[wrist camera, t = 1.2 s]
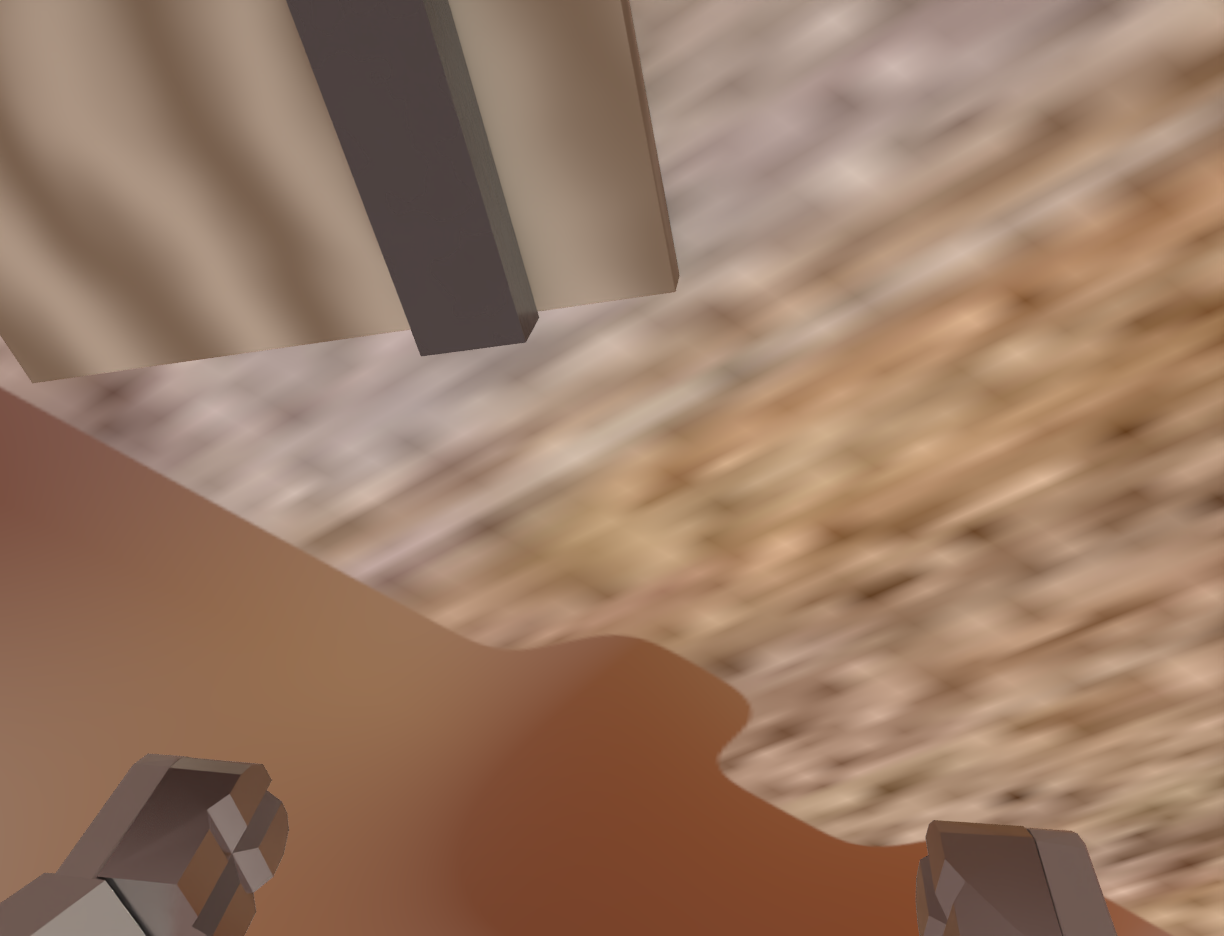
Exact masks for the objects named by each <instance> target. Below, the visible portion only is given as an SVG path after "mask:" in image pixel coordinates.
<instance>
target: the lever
mask: <svg viewBox="0 0 1224 936" xmlns="http://www.w3.org/2000/svg"><path fill="white" fill-rule="evenodd" d="M286 2H287V4H288V7H289V10H290V12H291V15H292V18H293V20H294V23H295V26H296V28H297V31H298V33H299V36H300V39H301V41H302V44H303V47H304V49H305V52H306V55H307V57H308V60H309V62H310V65H311V68H312V70H313V73H314V76H315V78H316V81H317V84H318V86H319V89H320V91H321V94H322V97H323V99H324V102H325V105H326V107H327V110H328V113H329V115H330V118H331V120H332V123H333V126H334V128H335V131H336V134H337V136H338V139H339V141H340V144H341V147H342V149H343V152H344V155H345V157H346V160H347V163H348V165H349V168H350V170H351V173H352V176H353V178H354V181H355V184H356V186H357V189H358V192H359V194H360V197H361V199H362V202H363V205H364V207H365V210H366V213H367V215H368V218H369V221H370V223H371V226H372V228H373V231H374V234H375V236H376V239H377V242H378V244H379V247H380V249H381V252H382V255H383V257H384V260H385V263H386V265H387V268H388V271H389V273H390V276H391V278H392V281H393V284H394V286H395V289H396V292H397V294H398V297H399V300H400V302H401V305H402V307H403V310H404V313H405V315H406V318H407V321H408V323H409V326H410V329H411V331H412V334H413V336H414V339H415V342H416V344H417V347H418V350H419V352H420V355H421V356H427V355H435V354H442V353H450V352H457V351H465V350H472V349H480V348H487V347H495V346H502V345H510V344H517V343H525V342H526V341H527V339H528V337H529V335H530V334H531V332H532V330H533V328H534V326H535V324H536V322H537V321H538V319H539V315H538V312H537V308H536V305H535V302H534V298H533V295H532V291H531V288H530V284H529V281H528V277H527V274H526V270H525V267H524V263H523V260H522V256H521V253H520V249H519V246H518V242H517V239H516V235H515V232H514V228H513V225H512V221H511V218H510V214H509V211H508V207H507V204H506V200H505V197H504V193H503V190H502V187H501V183H500V180H499V176H498V173H497V169H496V166H495V162H494V159H493V155H492V152H491V148H490V145H489V141H488V138H487V134H486V131H485V127H484V124H483V120H482V117H481V113H480V110H479V106H478V103H477V99H476V96H475V92H474V89H473V85H472V82H471V78H470V75H469V71H468V68H467V65H466V61H465V58H464V54H463V51H462V47H461V44H460V40H459V37H458V33H457V30H456V26H455V23H454V19H453V16H452V12H451V9H450V5H449V2H448V0H286Z"/></svg>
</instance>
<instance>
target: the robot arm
mask: <svg viewBox="0 0 1224 936" xmlns="http://www.w3.org/2000/svg"><path fill="white" fill-rule="evenodd" d="M271 781H272V779H271V778H270V776H269V774H268V772H267V770H266V769H265V767H264V765H263V764H254V763H242V762H232V761H221V760H209V759H198V758H190V757H184V756H171V755H159V754H147V755H146V756H144V757H143V758H141V759H140V760H139V761H137V762H136V763H135V764H134V765H133V766H132V767H131V768H130V770H129V771H128V773H127V774H126V775H125V777H124V778H123V780H122V781H121V782H120V784H119V785H118V787H117V788H116V789H115V791H114V792H113V794H112V795H111V796H110V798H109V799H108V801H107V802H106V803H105V805H104V806H103V808H102V809H101V810H100V812H99V813H98V815H97V816H96V817H95V819H94V820H93V822H92V823H91V824H90V826H89V827H88V829H87V830H86V832H85V833H84V834H83V836H82V837H81V838H80V840H79V841H78V843H77V844H76V845H75V847H74V848H73V850H72V851H71V852H70V854H69V855H68V857H67V858H66V859H65V861H64V862H63V864H62V865H61V866H60V868H59V869H58V871H57V872H56V873H55V874H53V873H44V874H42V875H41V876H39V877H38V878H36V879H35V880H34V881H32V882H31V883H29V884H28V885H26V886H25V887H24V888H22V889H20V890H19V891H18V892H16V893H15V894H13V895H12V896H10V897H9V898H7V899H6V900H4V901H3V902H1V903H0V936H244V935H245V933H246V931H247V929H248V927H249V925H250V923H251V921H252V919H253V917H254V915H255V913H256V907H255V901H254V894H253V893H254V892H255V891H256V890H257V889H259V888H260V887H261V886H262V885H264V884H265V883H266V882H267V881H268V880H270V879H271V878H272V877H273V876H274V874H275V871H276V869H277V867H278V865H279V863H280V861H281V859H282V857H283V854H284V850H285V846H286V840H287V836H288V831H289V827H288V816H287V812H286V810H285V807H284V805H283V803H282V801H280V800H279V799H278V798H276V797H275V796H274V795H272V794H271V793H270V792H268V791H267V788H268V787H269V785H270V783H271ZM926 843H927V849H928V856H926V857H924V858H923V859H921V860H920V863H919V868H918V873H917V878H916V909H917V919H918V920H917V921H918V928H919V935H920V936H1117V933H1116V931H1115V928H1114V925H1113V922H1112V920H1111V916H1110V913H1109V911H1108V908H1107V905H1106V902H1105V899H1104V896H1103V893H1102V890H1101V888H1100V885H1099V882H1098V879H1097V876H1096V873H1095V870H1094V868H1093V865H1092V862H1091V859H1090V856H1089V853H1088V850H1087V848H1086V845H1085V843H1084V842H1083V840H1082V839H1081V838H1080V836H1079V835H1078V834H1077V833H1075V832H1073V831H1066V830H1052V829H1038V828H1025V827H1024V826H1013V825H998V824H983V823H968V822H953V821H938V820H933V821H932V822H931V823H930V824H929V826H928V830H927V834H926Z"/></svg>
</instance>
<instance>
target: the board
mask: <svg viewBox="0 0 1224 936" xmlns="http://www.w3.org/2000/svg"><path fill="white" fill-rule="evenodd" d="M448 2H449V5H450V9H451V12H452V16H453V19H454V23H455V26H456V30H457V33H458V37H459V40H460V44H461V47H462V51H463V54H464V58H465V61H466V65H467V68H468V71H469V75H470V78H471V82H472V85H473V89H474V92H475V96H476V99H477V103H478V106H479V110H480V113H481V117H482V120H483V124H484V127H485V131H486V134H487V138H488V141H489V145H490V148H491V152H492V155H493V159H494V162H495V166H496V169H497V173H498V176H499V180H500V183H501V187H502V190H503V193H504V197H505V200H506V204H507V207H508V211H509V214H510V218H511V221H512V225H513V228H514V232H515V235H516V239H517V242H518V246H519V249H520V253H521V256H522V260H523V263H524V267H525V270H526V274H527V277H528V281H529V284H530V288H531V291H532V295H533V298H534V302H535V305H536V308H537V311H544V310H551V309H558V308H565V307H572V306H579V305H586V304H593V303H600V302H608V301H615V300H622V299H629V298H636V297H643V296H650V295H657V294H664V293H671V292H675V291H676V287H677V283H678V279H679V270H678V265H677V259H676V254H675V249H674V243H673V238H672V232H671V227H670V221H669V216H668V210H667V205H666V199H665V194H664V189H663V183H662V178H661V172H660V167H659V161H658V156H657V150H656V145H655V140H654V134H653V129H652V123H651V118H650V112H649V107H648V101H647V96H646V90H645V85H644V80H643V74H642V69H641V63H640V58H639V52H638V47H637V41H636V36H635V30H634V25H633V20H632V14H631V9H630V3H629V0H448ZM404 330H411V329H410V326H409V323H408V321H407V318H406V315H405V313H404V310H403V307H402V305H401V302H400V300H399V297H398V294H397V292H396V289H395V286H394V284H393V281H392V278H391V276H390V273H389V271H388V268H387V265H386V263H385V260H384V257H383V255H382V252H381V249H380V247H379V244H378V242H377V239H376V236H375V234H374V231H373V228H372V226H371V223H370V221H369V218H368V215H367V213H366V210H365V207H364V205H363V202H362V199H361V197H360V194H359V192H358V189H357V186H356V184H355V181H354V178H353V176H352V173H351V170H350V168H349V165H348V163H347V160H346V157H345V155H344V152H343V149H342V147H341V144H340V141H339V139H338V136H337V134H336V131H335V128H334V126H333V123H332V120H331V118H330V115H329V113H328V110H327V107H326V105H325V102H324V99H323V97H322V94H321V91H320V89H319V86H318V84H317V81H316V78H315V76H314V73H313V70H312V68H311V65H310V62H309V60H308V57H307V55H306V52H305V49H304V47H303V44H302V41H301V39H300V36H299V33H298V31H297V28H296V26H295V23H294V20H293V18H292V15H291V12H290V10H289V7H288V4H287V2H286V0H0V335H1V337H2V338H3V340H4V341H5V343H6V344H7V346H8V347H9V349H10V350H11V352H12V353H13V355H14V356H15V358H16V359H17V361H18V362H19V364H20V365H21V367H22V368H23V370H24V371H25V373H26V374H27V376H28V377H29V379H30V380H31V382H32V383H38V382H45V381H52V380H59V379H66V378H73V377H80V376H87V375H94V374H101V373H108V372H115V371H122V370H129V369H136V368H143V367H150V366H157V365H164V364H171V363H178V362H185V361H192V360H200V359H207V358H214V357H221V356H228V355H235V354H242V353H249V352H256V351H263V350H270V349H277V348H284V347H291V346H298V345H305V344H312V343H319V342H326V341H333V340H340V339H347V338H354V337H361V336H368V335H375V334H382V333H389V332H396V331H404Z"/></svg>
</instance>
